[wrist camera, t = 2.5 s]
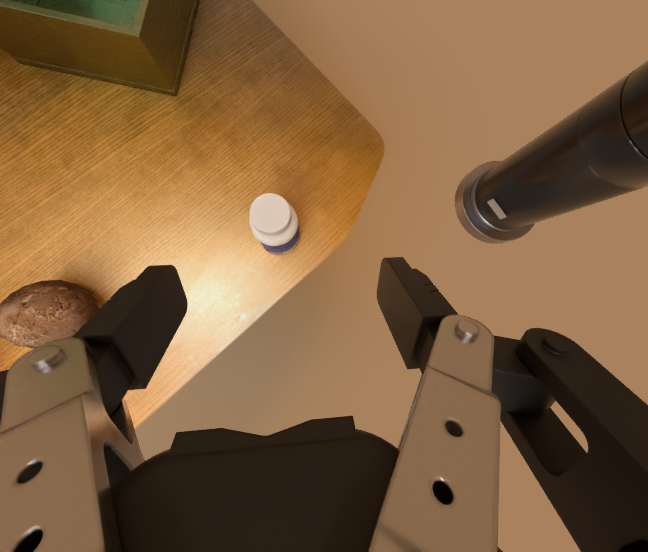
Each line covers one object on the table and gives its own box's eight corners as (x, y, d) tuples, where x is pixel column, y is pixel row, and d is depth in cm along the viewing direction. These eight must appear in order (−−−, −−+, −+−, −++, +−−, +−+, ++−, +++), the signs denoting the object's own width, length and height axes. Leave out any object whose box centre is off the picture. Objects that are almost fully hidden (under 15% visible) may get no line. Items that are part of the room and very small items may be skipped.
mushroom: (17, 374, 26) (-23, 349, 22) (15, 312, 30) (-20, 280, 25) (113, 343, 31) (97, 318, 26) (102, 293, 34) (85, 262, 30)
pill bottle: (307, 235, 34) (309, 213, 25) (279, 263, 33) (270, 250, 24) (278, 208, 34) (269, 175, 25) (250, 235, 33) (230, 212, 24)
